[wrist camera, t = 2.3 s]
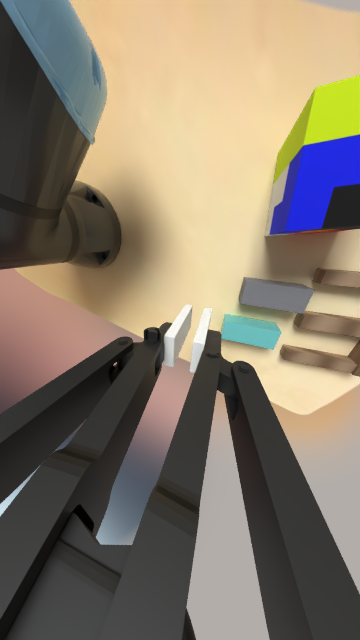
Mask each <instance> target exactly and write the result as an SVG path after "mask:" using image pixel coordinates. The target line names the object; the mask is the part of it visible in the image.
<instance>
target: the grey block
mask: <svg viewBox="0 0 360 640" xmlns="http://www.w3.org/2000/svg"><path fill="white" fill-rule="evenodd" d="M313 292H314V290H313V289H311V288H309V287H307V286H305V285H301V284H294V283H286V282H278V281H270V280H263V279H255V278H247V277H244V280H243V283H242V287H241V291H240V294H239V301H240V304H246V305H252V306H259V307H265V308H271V309H277V310H283V311H289V312H295V313H301V314H303V312H304V310H305V308H306V306H307V304H308V302H309V300H310V298H311V296H312V294H313Z"/></svg>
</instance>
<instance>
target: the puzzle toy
mask: <svg viewBox="0 0 360 640" xmlns="http://www.w3.org/2000/svg"><path fill="white" fill-rule="evenodd" d="M352 229H360V75H359V76H356V77H352V78H348V79H345V80H341V81H337V82H334V83H330V84H327V85H323V86H319V87H316V88H315V90H314V91H313V93H312V95H311V97H310V99H309V100H308V102H307V104H306V106H305V107H304V109H303V111H302V113H301V114H300V116H299V118H298V120H297V121H296V123H295V125H294V127H293V128H292V130H291V132H290V134H289V135H288V137H287V139H286V141H285V142H284V144H283V146H282V148H281V150H280V151H279V153H278V158H277V164H276V170H275V176H274V182H273V188H272V194H271V200H270V206H269V212H268V218H267V224H266V230H265V236H275V235H290V234H305V233H320V232H335V231H344V230H352Z"/></svg>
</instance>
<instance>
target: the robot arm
mask: <svg viewBox="0 0 360 640" xmlns="http://www.w3.org/2000/svg"><path fill="white" fill-rule="evenodd" d="M106 100H107V83H106V77H105V72H104V69H103V66H102V63H101V61H100V58H99V56H98V54H97V51H96V49H95V47H94V46H93V44H92V42H91V40H90V38H89V36H88V34H87V32H86V30H85V28H84V26H83V25H82V23H81V21H80V19H79V17H78V15H77V14H76V12H75V10H74V8H73V6H72V4H71V2H70V1H69V0H0V270H1V269H9V268H18V267H27V266H37V265H46V264H55V263H64V262H66V263H70V264H74V265H79V266H83V267H87V268H98V267H104V266H107V265H109V264H110V263H111V262H113V260H114V259H115V258H116V256H117V254H118V252H119V249H120V244H121V231H120V225H119V221H118V218H117V215H116V213H115V211H114V209H113V207H112V205H111V204H110V202H109V201H108V199H107V198H106V197H105V196H104V195H103V194H102V193H101V192H100V191H98V190H97V189H95V188H94V187H92V186H89V185H87V184H85V183H82V182H79V181H75V179H76V176H77V174H78V172H79V169H80V167H81V165H82V162H83V160H84V158H85V156H86V153H87V151H88V149H89V146H90V144H92V145H93V144H94V142H95V137H94V135H95V132H96V129H97V126H98V123H99V121H100V118H101V115H102V112H103V109H104V107H105V104H106ZM192 306H193V305H185V306H184V308H183V309H182V311H181V312H180V313H179V315H178V316H177V318H176V319H175V321H174V322H173V323H168V322H166V323H164V324H162V325H161V327H160V328H156V327H151V328H147V329H145V330H144V341H143V342H140V343H133V340H132V338H130V337H120V338H118V339H116V340H114V341H113V342H111V343H110V344H108V345H107V346H105V347H103V348H102V349H100V350H99V351H97V352H96V353H94V354H93V355H91V356H89V357H88V358H86V359H85V360H83V361H82V362H80V363H79V364H77V365H76V366H74V367H73V368H71V369H69V370H68V371H66V372H65V373H63V374H62V375H60V376H58V377H57V378H55V379H54V380H52V381H51V382H49V383H48V384H46V385H44V386H43V387H41V388H40V389H38V390H37V391H35V392H34V393H33V394H31V395H29V396H27V397H26V398H24V399H23V400H22V401H20V402H18V403H17V404H15V405H14V406H12V407H10V408H9V409H7V410H6V411H4V412H3V413H1V414H0V503H1V502H3V501H4V500H5V499H6V498H7V497H8V496H9V495H10V494H11V493H12V492H13V491H14V490H15V489H16V488H17V487H19V485H21V483H23V481H25V480H26V479H27V477H28V476H30V474H32V473H33V472H34V471H35V470H36V469H37V468H38V467H39V466H40V467H39V468H38V469H37V471H36V472H35V473H34V475H33V476H32V477H31V478H30V480H29V481H28V482H27V483H26V485H25V486H24V487H23V488H22V490H21V491H20V492H19V494H18V495H17V496H16V497H15V499H14V500H13V501H12V502H11V504H10V505H9V506H8V508H7V509H6V510H5V511H4V513H3V514H2V515H1V517H0V640H196V638H195V634H194V630H193V627H192V623H191V620H190V617H189V614H188V612H187V608H186V606H187V599H188V592H189V585H190V578H191V571H192V564H193V557H194V550H195V543H196V536H197V528H198V520H199V507H200V498H201V492H202V485H203V479H204V472H205V465H206V459H207V452H208V445H209V439H210V432H211V425H212V419H213V412H214V405H215V398H216V391H217V390H219V391H220V392H222V393H224V397H225V402H226V408H227V413H228V418H229V424H230V429H231V435H232V440H233V446H234V451H235V456H236V462H237V467H238V472H239V478H240V483H241V488H242V494H243V500H244V505H245V510H246V516H247V521H248V527H249V531H250V537H251V543H252V547H253V553H254V559H255V564H256V570H257V575H258V580H259V586H260V591H261V596H262V602H263V607H264V612H265V618H266V624H267V628H268V633H269V638H270V640H360V594H359V592H358V590H357V588H356V586H355V583H354V581H353V579H352V577H351V575H350V573H349V571H348V568H347V566H346V564H345V562H344V560H343V558H342V556H341V553H340V551H339V549H338V547H337V545H336V543H335V541H334V538H333V536H332V534H331V533H330V530H329V528H328V526H327V523H326V522H325V519H324V517H323V515H322V513H321V511H320V508H319V506H318V504H317V502H316V500H315V498H314V496H313V493H312V491H311V489H310V487H309V485H308V483H307V481H306V478H305V476H304V474H303V472H302V470H301V468H300V466H299V463H298V461H297V459H296V457H295V455H294V453H293V451H292V448H291V446H290V444H289V442H288V440H287V438H286V436H285V433H284V431H283V429H282V427H281V425H280V423H279V421H278V418H277V416H276V414H275V412H274V410H273V408H272V406H271V403H270V401H269V399H268V397H267V395H266V393H265V390H264V388H263V386H262V384H261V382H260V380H259V378H258V375H257V373H256V371H255V369H254V368H253V366H251V365H250V364H249V363H246V362H244V361H236V362H234V363H230V362H228V361H227V360H225V359H224V358H223V357H222V355H221V337H222V335H221V333H220V332H219V331H213V330H209V324H210V318H211V312H212V308H206V307H205V308H204V311H203V314H202V317H201V320H200V323H199V326H198V329H197V332H196V335H195V338H194V341H193V348H192V356H191V365H190V372H194V373H195V374H194V377H193V380H192V383H191V386H190V389H189V392H188V395H187V398H186V401H185V403H184V406H183V409H182V412H181V415H180V418H179V421H178V424H177V427H176V430H175V432H174V435H173V438H172V441H171V444H170V447H169V450H168V453H167V456H166V459H165V462H164V465H163V468H162V470H161V473H160V476H159V479H158V481H157V484H156V486H155V487H154V489H153V491H152V493H151V495H150V497H149V500H148V503H147V505H146V508H145V510H144V513H143V516H142V519H141V522H140V525H139V527H138V530H137V533H136V536H135V539H134V541H133V544H132V545H100V543H99V542H98V540H97V539H96V535H97V533H98V530H99V528H100V525H101V522H102V520H103V518H104V515H105V512H106V510H107V507H108V503H109V499H110V494H111V490H112V486H113V484H114V481H115V479H116V476H117V474H118V471H119V469H120V467H121V465H122V462H123V460H124V457H125V455H126V453H127V450H128V448H129V445H130V443H131V441H132V438H133V436H134V433H135V431H136V429H137V426H138V424H139V422H140V419H141V417H142V414H143V412H144V410H145V407H146V405H147V402H148V400H149V398H150V395H151V393H152V391H153V388H154V386H155V383H156V381H157V379H158V376H159V374H160V371H161V368H162V362H163V361H164V365H166V366H170V367H173V366H174V364H175V362H176V359H177V357H178V355H179V352H180V350H181V348H182V345H183V343H184V341H185V338H186V336H187V334H188V332H189V329H190V325H191V315H192ZM116 362H117V364H116V365H115V366H113V364H114V363H116ZM85 420H86V421H85ZM84 421H85V422H84ZM83 422H84V423H83ZM82 423H83V425H82V426H81V428H80V429H79V430H78V432H77V433H76V434H75V436H74V437H73V438H72V440H71V441H70V442H69V444H68V445H67V446H66V447H65V448H63V449H61V450H58V451H55V450H56V449H57V448H58V447H59V446H60V445H61V444H62V443H63V442H64V441H65V439H67V438H68V437H69V436H70V435H71V434H72V433H73V432H74V431H75V430H76V429H77V428H78V427H79V426H80V424H82ZM54 451H55V452H54ZM53 452H54V453H53Z"/></svg>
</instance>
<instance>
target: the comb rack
mask: <svg viewBox="0 0 360 640" xmlns="http://www.w3.org/2000/svg"><path fill="white" fill-rule="evenodd" d="M312 281H315V282H317V283H320V284H328V285H338V286H347V287H357V288H360V272H355V271H343V270H331V269H319V268H318V269H317V271H316V274H315V276H314V278H313V280H312ZM294 323H295V324H296V325H297V326H298V327H299V328H304V329H310V330H317V331H323V332H329V333H335V334H342V335H348V336H354V337H360V318H353V317H346V316H339V315H332V314H325V313H317V312H310V311H304V312H303V314H301V313H297V315H296V317H295V320H294ZM280 353H281V355H282V357H283V359H284V360H289V361H294V362H299V363H304V364H309V365H313V366H318V367H323V368H328V369H333V370H338V371H343V372H348V373H352V375H355V376H360V340H359V342H358V343H357V345H356V346H355V347H354V349H353V350H352V351H351V353H350V354H349V356H343V355H337V354H332V353H326V352H321V351H316V350H310V349H305V348H299V347H294V346H288V345H283V346H282V348H281V350H280Z"/></svg>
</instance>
